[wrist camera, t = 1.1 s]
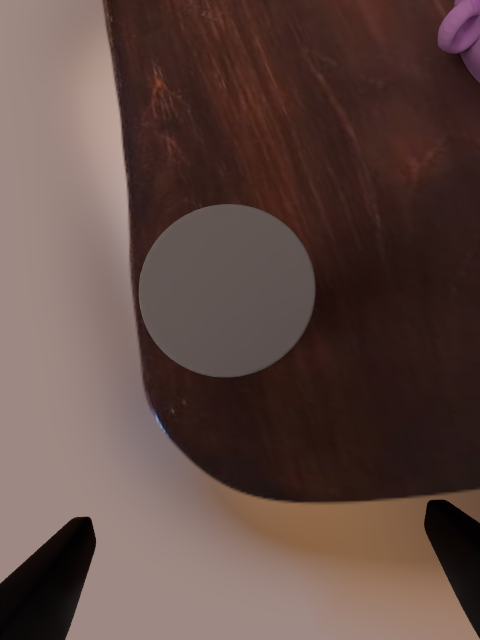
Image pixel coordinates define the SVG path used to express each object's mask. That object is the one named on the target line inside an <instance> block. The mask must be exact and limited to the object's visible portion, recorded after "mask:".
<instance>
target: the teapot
mask: <svg viewBox="0 0 480 640" xmlns="http://www.w3.org/2000/svg"><path fill="white" fill-rule="evenodd" d="M438 46H439V47H440V48H441V49H442V50H443V51H445V52H447V53H450V54H457V53H460V55H461V57H462V60H463V62H464V64H465V65H466V67H467V69H468V70H469V72H470V73H471V74H472V75H473V77H474V78H475V79H476V80H477V81H478V82H479V83H480V0H455V4H454V8H453V9H452V10H451V11H450V12H449V14H448V15H447V16H446V17H445V19H444V20H443V22H442V24H441V26H440V28H439V32H438Z"/></svg>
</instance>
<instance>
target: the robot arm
mask: <svg viewBox="0 0 480 640" xmlns="http://www.w3.org/2000/svg"><path fill="white" fill-rule="evenodd" d="M424 526H425V531H426V534H427V536H428V538H429V540H430V542H431V544H432V547H433V549H434V551H435V553H436V555H437V557H438V559H439V561H440V563H441V565H442V567H443V569H444V571H445V574H446V576H447V578H448V580H449V582H450V584H451V586H452V588H453V590H454V592H455V594H456V596H457V598H458V600H459V602H460V604H461V606H462V608H463V610H464V611H465V614H466V615H467V617H468V619H469V621H470V623H471V624H472V626H473V628H474V630H475V631H476V633H477V635H478V636H479V638H480V523H479V522H477V521H476V520H474V519H473V518H472V517H470V516H469V515H467V514H466V513H464V512H463V511H461V510H460V509H458V508H457V507H455V506H454V505H453V504H451V503H450V502H448V501H446V500H430V501H429V502H428V503H427V508H426V515H425V521H424ZM95 547H96V537H95V533H94V529H93V525H92V520H91V518H90V517H76V518H73V519H71V520H70V521H69V522H68V523H67V524H66V525H65V526H63V527H62V528H61V529H60V530H59V531H58V532H57V533H56V534H55V535H54V536H52V537H51V538H50V539H49V540H48V541H47V542H46V543H45V544H44V545H42V546H41V547H40V548H39V549H38V550H37V551H36V552H35V553H34V554H33V555H31V556H30V557H29V558H28V559H27V560H26V561H25V562H24V563H23V564H21V565H20V566H19V567H18V568H17V569H16V570H15V571H14V572H13V573H11V575H9V576H8V577H7V578H6V579H5V580H4V581H3V582H2V583H0V640H65V638H66V636H67V633H68V631H69V628H70V625H71V622H72V619H73V617H74V613H75V610H76V607H77V604H78V601H79V598H80V595H81V591H82V588H83V585H84V582H85V579H86V576H87V573H88V570H89V567H90V564H91V560H92V557H93V554H94V551H95Z"/></svg>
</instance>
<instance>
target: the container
mask: <svg viewBox="0 0 480 640" xmlns="http://www.w3.org/2000/svg"><path fill="white" fill-rule="evenodd" d="M315 294H316V284H315V276H314V270H313V266H312V263H311V260H310V258H309V255H308V253H307V251H306V249H305V247H304V246H303V244H302V243H301V241H300V240H299V238H298V237H297V236H296V235H295V233H294V232H293V231H292V230H291V229H290V228H289V227H288V226H286V225H285V224H284V223H283V222H281V221H280V220H279V219H277V218H276V217H274V216H272V215H270V214H268V213H266V212H264V211H262V210H259V209H256V208H253V207H249V206H243V205H236V204H223V205H214V206H209V207H205V208H201V209H198V210H196V211H194V212H191V213H189V214H187V215H185V216H183V217H182V218H180V219H179V220H177V221H176V222H174V223H173V224H172V225H171V226H170V227H168V228H167V229H166V230H165V231H164V232H163V233H162V234H161V235H160V237H159V238H158V239H157V240H156V242H155V243H154V245H153V246H152V248H151V249H150V251H149V253H148V255H147V257H146V260H145V262H144V265H143V268H142V272H141V276H140V283H139V302H140V308H141V313H142V317H143V320H144V323H145V325H146V327H147V329H148V331H149V333H150V335H151V337H152V338H153V340H154V341H155V343H156V344H157V345H158V346H159V348H160V349H161V350H162V351H163V352H164V353H165V354H166V355H167V356H169V357H170V358H171V359H172V360H174V361H175V362H176V363H178V364H180V365H181V366H183V367H185V368H187V369H189V370H191V371H194V372H197V373H200V374H203V375H208V376H213V377H238V376H244V375H248V374H252V373H255V372H258V371H260V370H262V369H265V368H267V367H269V366H270V365H272V364H274V363H275V362H277V361H278V360H280V359H281V358H282V357H283V356H285V355H286V354H287V353H288V352H289V351H290V350H291V349H292V348H293V347H294V346H295V344H296V343H297V342H298V341H299V339H300V338H301V336H302V335H303V333H304V332H305V330H306V328H307V326H308V323H309V321H310V318H311V315H312V312H313V308H314V303H315Z"/></svg>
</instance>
